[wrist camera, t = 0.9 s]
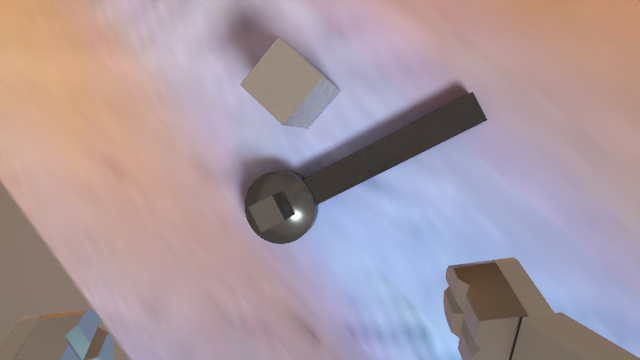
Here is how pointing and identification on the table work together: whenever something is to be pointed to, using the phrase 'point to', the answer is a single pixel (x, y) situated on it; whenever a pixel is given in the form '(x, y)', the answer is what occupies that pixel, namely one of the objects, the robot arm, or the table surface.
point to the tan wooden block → (289, 86)
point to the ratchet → (348, 172)
